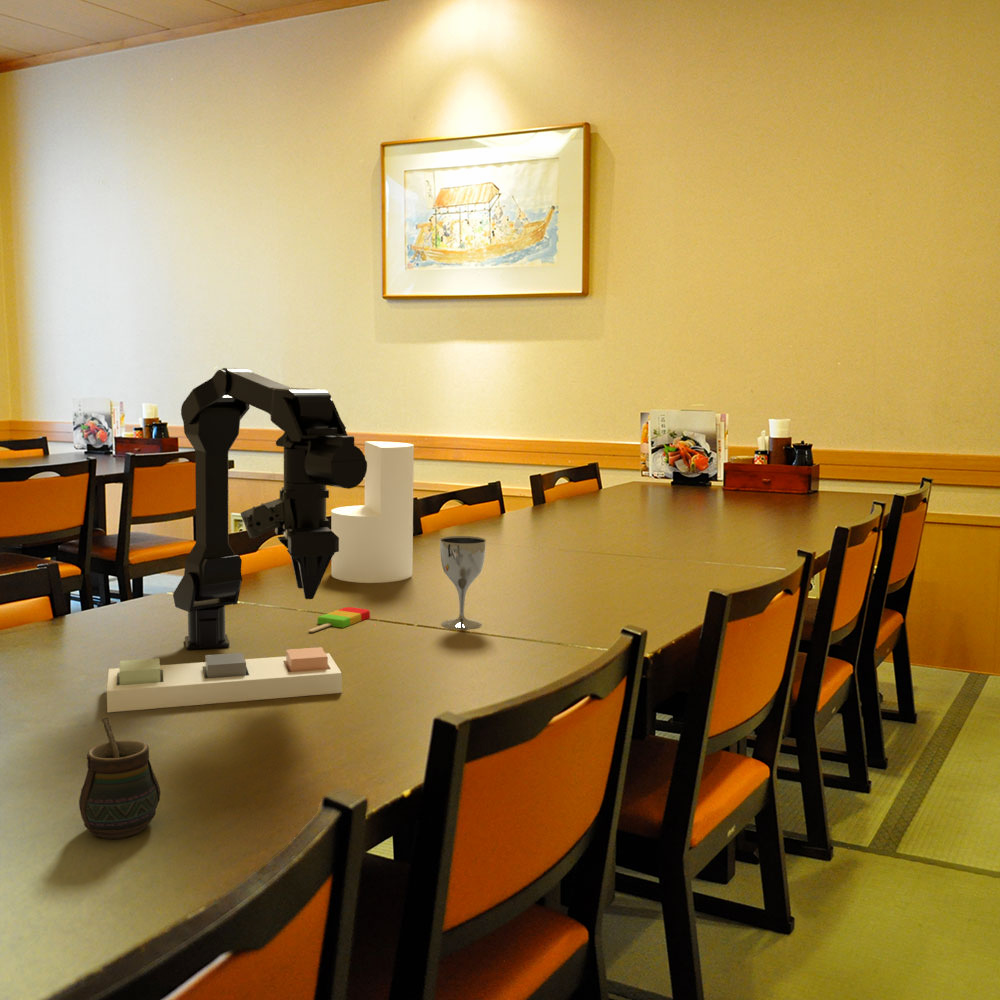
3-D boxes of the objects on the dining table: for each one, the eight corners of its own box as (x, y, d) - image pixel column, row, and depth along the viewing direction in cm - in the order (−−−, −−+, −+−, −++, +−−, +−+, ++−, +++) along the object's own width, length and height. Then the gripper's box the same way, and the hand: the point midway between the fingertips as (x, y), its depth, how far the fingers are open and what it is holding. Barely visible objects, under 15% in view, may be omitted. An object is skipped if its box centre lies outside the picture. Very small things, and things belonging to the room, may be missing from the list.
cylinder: (402, 565, 231) (403, 441, 228) (420, 580, 215) (422, 447, 211) (325, 568, 226) (325, 441, 222) (338, 584, 209) (338, 447, 206)
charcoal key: (205, 672, 141) (205, 655, 141) (242, 670, 143) (242, 652, 143) (207, 683, 137) (207, 665, 136) (246, 680, 138) (246, 662, 138)
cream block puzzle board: (109, 688, 140) (109, 668, 140) (329, 671, 150) (329, 653, 149) (107, 712, 131) (106, 691, 130) (341, 692, 140) (341, 672, 140)
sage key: (120, 679, 138) (120, 661, 137) (159, 676, 139) (159, 658, 139) (119, 690, 133) (119, 671, 133) (160, 687, 135) (160, 668, 134)
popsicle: (372, 619, 184) (372, 609, 183) (323, 638, 170) (323, 627, 170) (346, 616, 186) (347, 606, 186) (296, 634, 172) (296, 623, 172)
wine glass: (462, 616, 185) (464, 534, 183) (493, 625, 179) (495, 540, 177) (429, 623, 179) (430, 538, 177) (459, 632, 174) (461, 545, 172)
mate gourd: (103, 854, 93) (98, 748, 92) (64, 829, 98) (59, 728, 97) (174, 828, 99) (171, 728, 97) (134, 806, 104) (130, 710, 102)
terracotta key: (286, 666, 145) (286, 649, 145) (321, 664, 147) (321, 647, 146) (291, 677, 140) (291, 659, 140) (327, 674, 142) (327, 656, 142)
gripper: (238, 475, 146) (239, 582, 148) (251, 490, 129) (252, 612, 131) (316, 474, 150) (317, 579, 152) (339, 489, 132) (339, 607, 134)
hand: (305, 593), depth 142 cm, fingers open, 7 cm apart
